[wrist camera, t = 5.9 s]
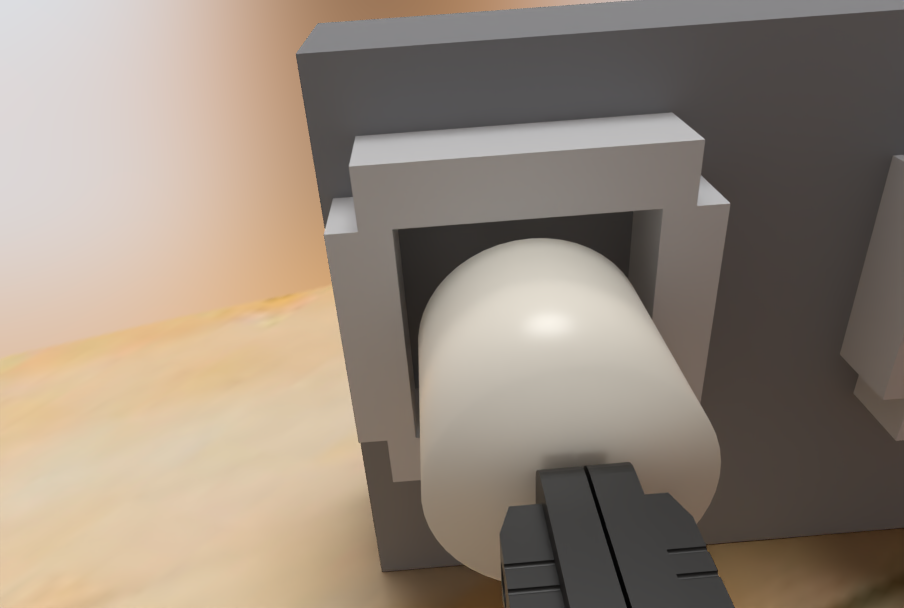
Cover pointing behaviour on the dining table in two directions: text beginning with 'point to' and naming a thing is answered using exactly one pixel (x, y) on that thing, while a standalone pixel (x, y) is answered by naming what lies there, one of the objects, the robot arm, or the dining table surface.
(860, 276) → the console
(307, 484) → the dining table surface
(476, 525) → the cream button
